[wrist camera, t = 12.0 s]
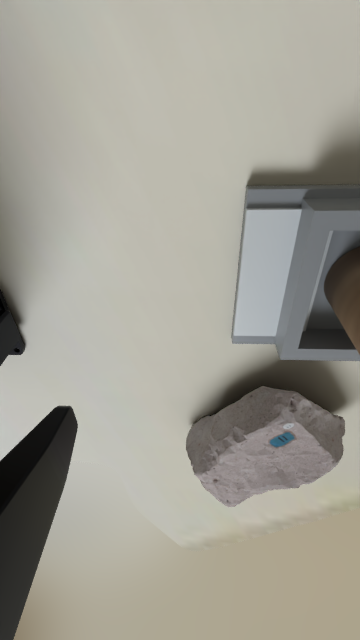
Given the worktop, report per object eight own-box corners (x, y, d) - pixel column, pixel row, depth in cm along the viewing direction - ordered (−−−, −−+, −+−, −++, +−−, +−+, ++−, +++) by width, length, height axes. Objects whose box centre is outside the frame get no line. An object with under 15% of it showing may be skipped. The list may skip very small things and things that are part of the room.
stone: (290, 356, 25) (310, 419, 20) (343, 413, 29) (370, 477, 24) (171, 417, 31) (165, 477, 26) (229, 458, 35) (233, 516, 30)
